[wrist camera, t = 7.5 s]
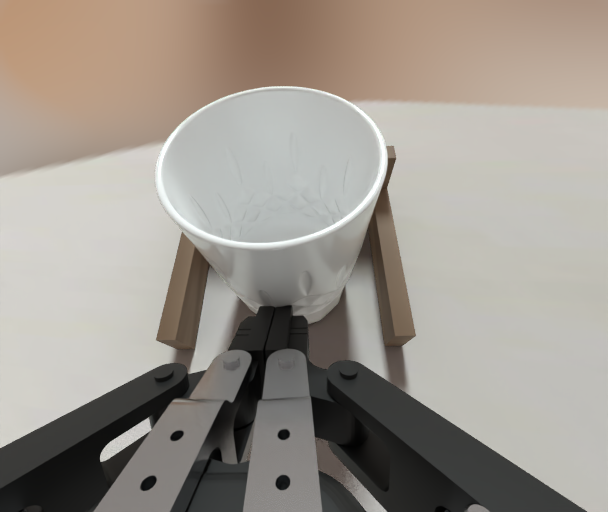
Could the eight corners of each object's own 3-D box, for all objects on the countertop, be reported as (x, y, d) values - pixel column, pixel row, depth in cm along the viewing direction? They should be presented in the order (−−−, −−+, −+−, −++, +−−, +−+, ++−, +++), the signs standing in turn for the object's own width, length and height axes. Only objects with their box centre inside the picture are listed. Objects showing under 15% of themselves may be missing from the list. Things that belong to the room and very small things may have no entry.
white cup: (244, 356, 16) (157, 283, 7) (224, 244, 20) (151, 109, 11) (374, 315, 17) (434, 207, 8) (330, 215, 21) (339, 69, 12)
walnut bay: (377, 201, 21) (393, 145, 17) (402, 345, 16) (434, 321, 12) (206, 206, 21) (177, 155, 17) (177, 349, 16) (126, 327, 12)
